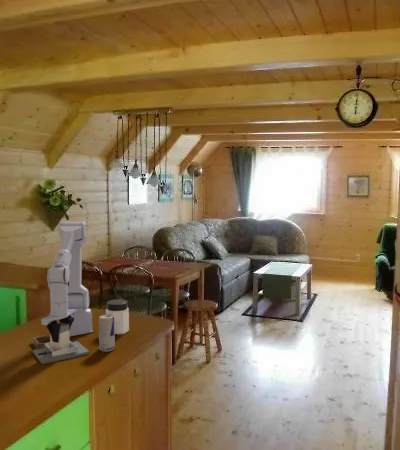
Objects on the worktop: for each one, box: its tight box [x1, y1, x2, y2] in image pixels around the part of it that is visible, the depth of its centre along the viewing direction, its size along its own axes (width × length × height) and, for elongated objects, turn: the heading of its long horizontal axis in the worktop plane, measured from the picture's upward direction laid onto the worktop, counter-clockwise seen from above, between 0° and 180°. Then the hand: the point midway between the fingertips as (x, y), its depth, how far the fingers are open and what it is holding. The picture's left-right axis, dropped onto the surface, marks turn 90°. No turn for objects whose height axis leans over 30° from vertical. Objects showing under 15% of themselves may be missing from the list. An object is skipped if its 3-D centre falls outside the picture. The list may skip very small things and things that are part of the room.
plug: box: [49, 321, 71, 351], centre depth 161 cm, size 4×5×9 cm
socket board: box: [32, 340, 90, 365], centre depth 162 cm, size 16×12×3 cm
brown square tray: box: [31, 334, 50, 349], centre depth 170 cm, size 7×8×2 cm
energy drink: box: [98, 313, 116, 353], centre depth 165 cm, size 5×5×12 cm
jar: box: [105, 298, 130, 336], centre depth 184 cm, size 9×8×12 cm
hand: (60, 339), depth 161 cm, fingers closed on plug, 4 cm apart
